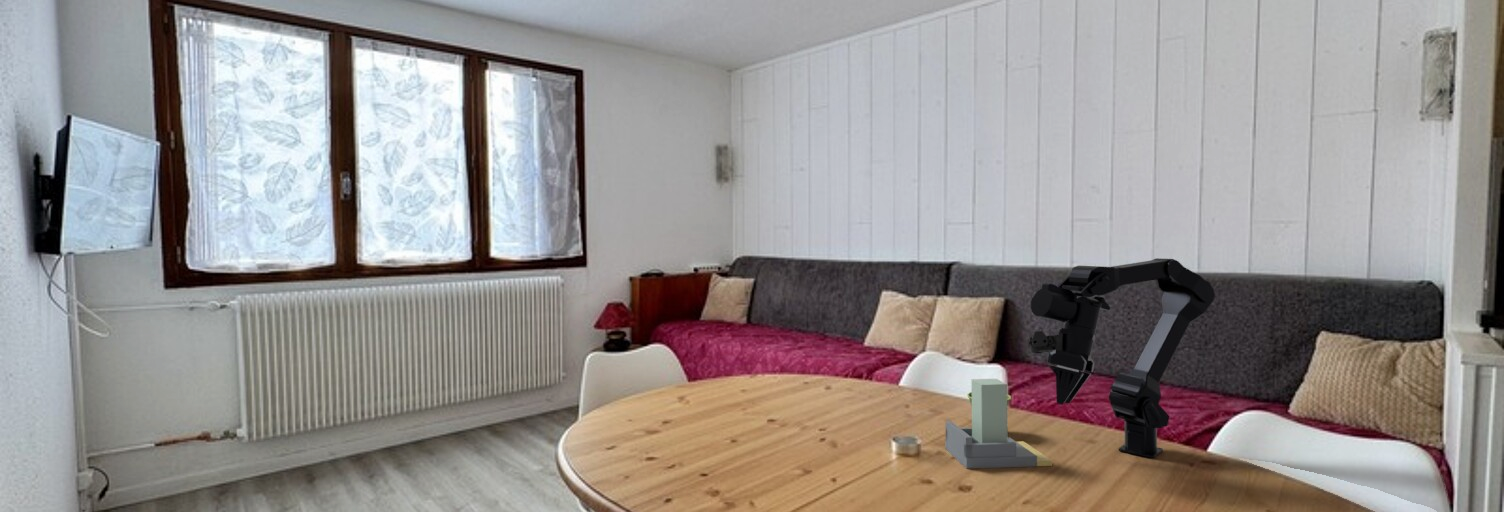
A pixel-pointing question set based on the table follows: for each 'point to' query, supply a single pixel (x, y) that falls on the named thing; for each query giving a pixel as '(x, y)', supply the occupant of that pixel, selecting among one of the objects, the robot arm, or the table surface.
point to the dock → (990, 451)
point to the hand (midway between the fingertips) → (1063, 403)
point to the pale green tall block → (989, 411)
